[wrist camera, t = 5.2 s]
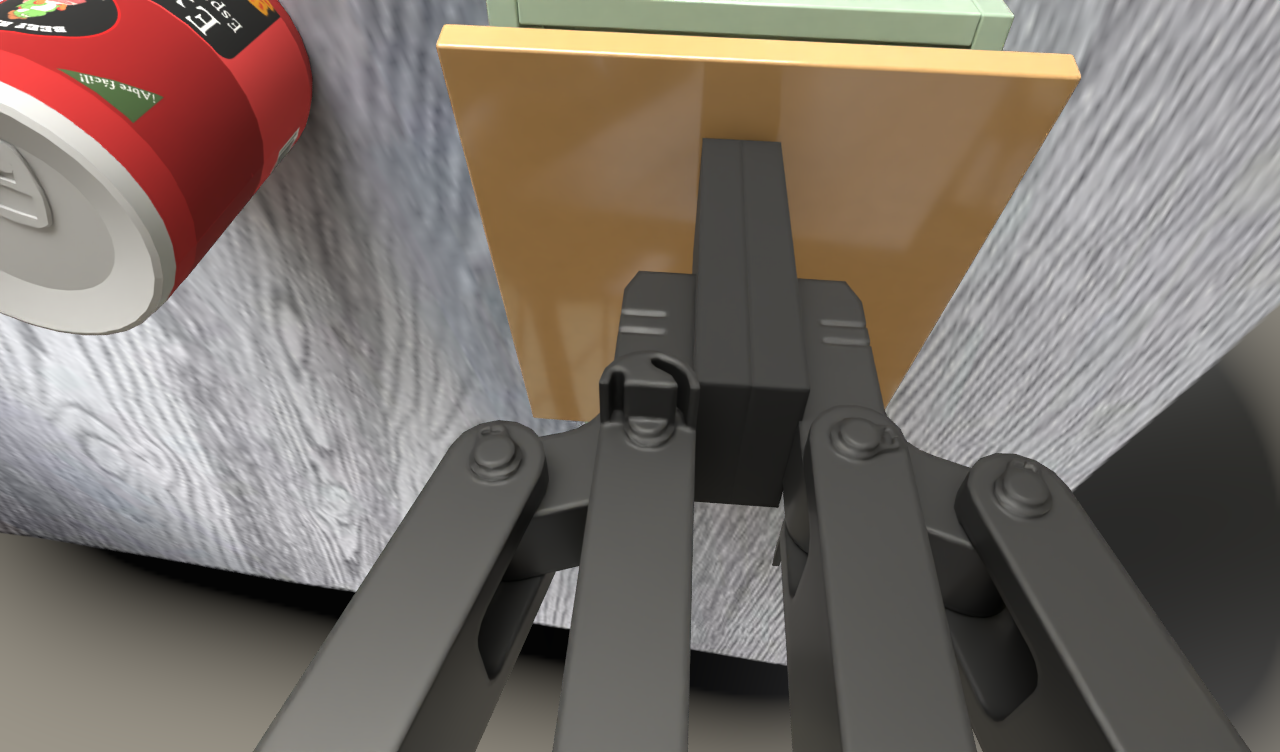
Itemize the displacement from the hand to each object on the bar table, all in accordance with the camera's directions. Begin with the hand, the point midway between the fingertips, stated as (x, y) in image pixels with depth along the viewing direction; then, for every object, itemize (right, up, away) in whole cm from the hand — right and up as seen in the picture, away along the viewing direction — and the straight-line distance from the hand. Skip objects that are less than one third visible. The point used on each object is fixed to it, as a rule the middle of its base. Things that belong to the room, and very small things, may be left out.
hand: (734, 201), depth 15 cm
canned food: (-17, +8, +12) cm, 22 cm away
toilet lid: (0, -1, +4) cm, 4 cm away
